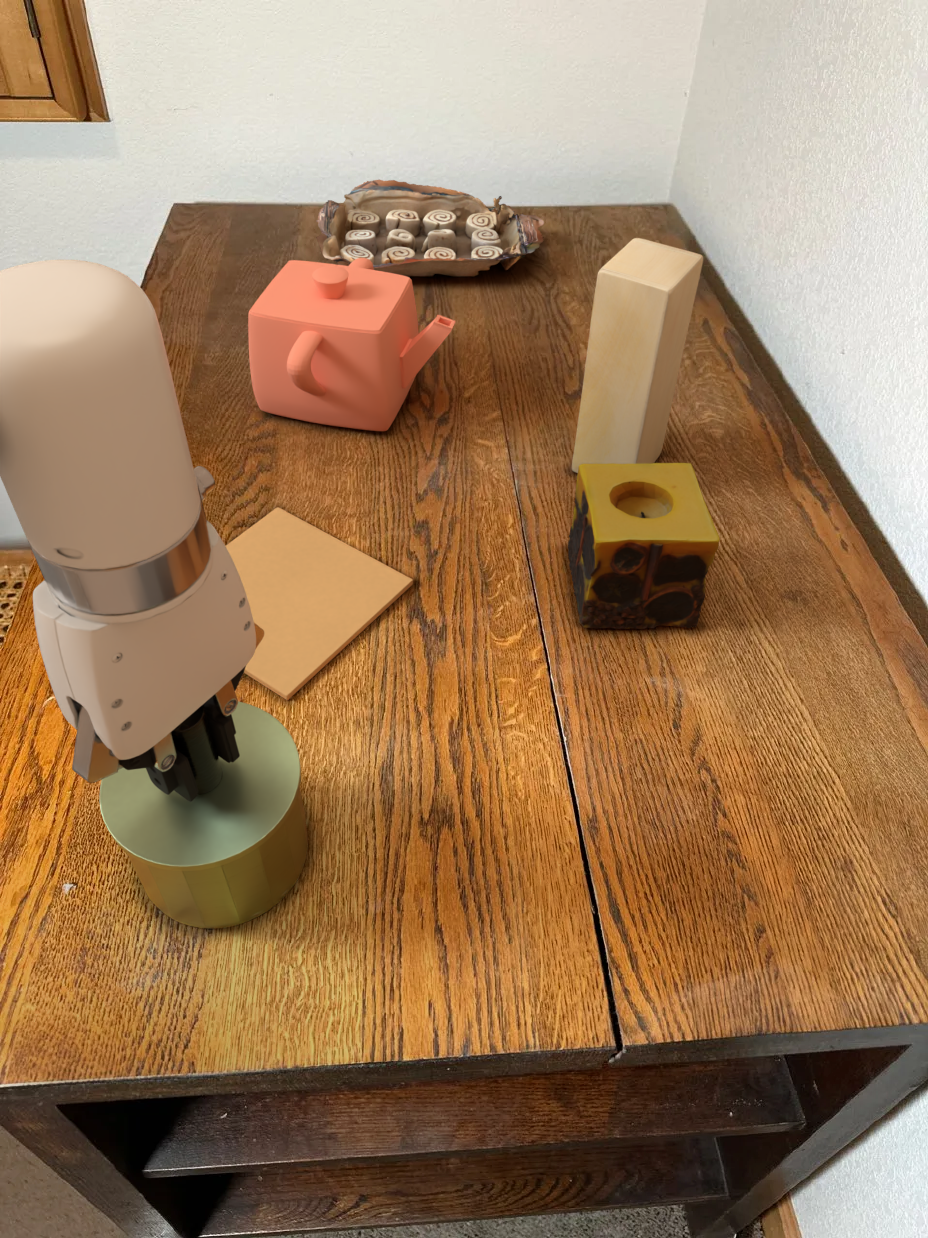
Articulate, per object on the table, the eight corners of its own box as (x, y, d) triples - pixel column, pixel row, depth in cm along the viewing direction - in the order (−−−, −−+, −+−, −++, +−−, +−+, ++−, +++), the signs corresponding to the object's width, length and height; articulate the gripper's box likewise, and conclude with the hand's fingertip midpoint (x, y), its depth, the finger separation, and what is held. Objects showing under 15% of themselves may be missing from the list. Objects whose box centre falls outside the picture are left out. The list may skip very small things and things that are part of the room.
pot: (224, 963, 58) (199, 901, 52) (105, 866, 63) (69, 798, 56) (341, 835, 65) (332, 766, 58) (225, 754, 69) (205, 682, 63)
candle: (697, 630, 79) (725, 543, 71) (579, 632, 78) (594, 544, 71) (674, 547, 86) (697, 460, 78) (564, 549, 85) (577, 461, 78)
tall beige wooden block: (597, 429, 98) (628, 232, 82) (662, 452, 95) (707, 254, 80) (562, 469, 93) (589, 268, 77) (630, 495, 90) (671, 293, 75)
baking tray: (529, 212, 132) (532, 172, 128) (559, 287, 118) (563, 245, 114) (316, 218, 129) (313, 178, 125) (320, 297, 115) (316, 254, 111)
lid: (201, 915, 52) (173, 847, 47) (62, 805, 57) (21, 730, 51) (341, 770, 59) (332, 695, 53) (207, 681, 63) (185, 604, 58)
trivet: (287, 700, 72) (286, 696, 72) (146, 610, 78) (145, 605, 78) (413, 584, 81) (413, 579, 81) (278, 511, 87) (277, 506, 87)
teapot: (234, 442, 94) (210, 317, 84) (310, 332, 109) (297, 214, 99) (424, 475, 92) (423, 350, 81) (475, 358, 106) (480, 239, 96)
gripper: (197, 429, 49) (248, 657, 62) (-86, 609, 40) (46, 830, 53) (305, 484, 46) (333, 711, 59) (27, 693, 37) (135, 904, 50)
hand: (197, 766), depth 56 cm, fingers closed on lid, 2 cm apart
